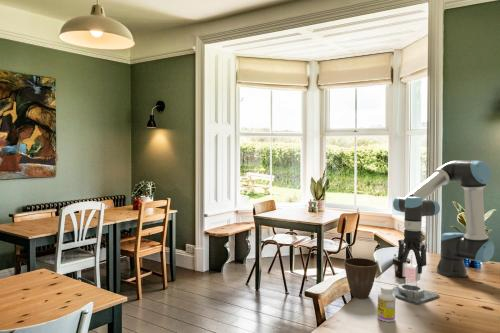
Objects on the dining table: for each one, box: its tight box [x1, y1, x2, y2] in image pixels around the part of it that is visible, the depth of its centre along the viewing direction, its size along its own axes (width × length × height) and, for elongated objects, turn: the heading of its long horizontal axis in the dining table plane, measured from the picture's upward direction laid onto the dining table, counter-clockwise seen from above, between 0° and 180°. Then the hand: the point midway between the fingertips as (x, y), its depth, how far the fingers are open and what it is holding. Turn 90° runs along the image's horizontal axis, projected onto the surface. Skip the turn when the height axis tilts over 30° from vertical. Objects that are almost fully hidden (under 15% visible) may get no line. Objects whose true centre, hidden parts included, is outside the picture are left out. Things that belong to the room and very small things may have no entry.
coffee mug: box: [392, 256, 411, 280], centre depth 213 cm, size 12×9×10 cm
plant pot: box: [343, 257, 378, 299], centre depth 181 cm, size 15×15×16 cm
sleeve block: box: [393, 283, 440, 306], centre depth 184 cm, size 18×18×4 cm
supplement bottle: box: [377, 285, 396, 323], centre depth 156 cm, size 7×7×13 cm
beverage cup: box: [405, 254, 417, 286], centre depth 184 cm, size 6×6×14 cm
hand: (411, 278), depth 184 cm, fingers closed on beverage cup, 6 cm apart
